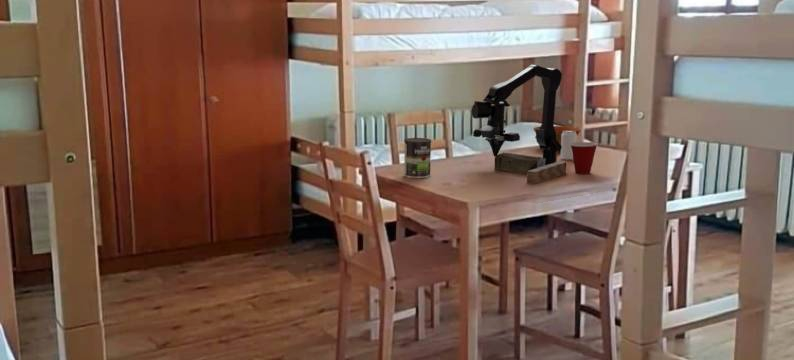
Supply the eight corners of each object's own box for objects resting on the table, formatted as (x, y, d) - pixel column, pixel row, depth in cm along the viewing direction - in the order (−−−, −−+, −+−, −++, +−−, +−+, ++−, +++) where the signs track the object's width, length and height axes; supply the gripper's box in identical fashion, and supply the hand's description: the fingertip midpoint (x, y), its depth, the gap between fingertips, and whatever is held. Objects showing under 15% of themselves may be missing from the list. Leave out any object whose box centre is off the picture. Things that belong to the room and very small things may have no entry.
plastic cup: (578, 168, 330) (579, 139, 327) (601, 172, 322) (603, 142, 319) (562, 172, 322) (564, 142, 320) (586, 176, 315) (588, 146, 312)
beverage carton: (537, 176, 316) (537, 159, 315) (493, 170, 327) (493, 154, 326) (545, 172, 323) (546, 156, 321) (502, 167, 333) (502, 151, 332)
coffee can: (435, 177, 313) (436, 140, 310) (411, 179, 308) (412, 142, 305) (422, 172, 322) (422, 136, 319) (399, 174, 317) (399, 138, 314)
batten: (559, 172, 323) (559, 161, 322) (565, 173, 321) (566, 162, 320) (526, 183, 303) (527, 171, 302) (533, 184, 301) (534, 172, 300)
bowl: (537, 144, 388) (538, 123, 386) (583, 147, 380) (584, 126, 378) (528, 151, 369) (529, 129, 366) (575, 154, 361) (576, 132, 359)
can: (577, 158, 352) (579, 130, 350) (572, 160, 347) (573, 132, 344) (563, 156, 356) (565, 129, 353) (558, 159, 350) (559, 131, 348)
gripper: (466, 117, 324) (464, 155, 327) (506, 122, 313) (504, 162, 316) (481, 114, 333) (479, 152, 336) (521, 119, 321) (519, 158, 325)
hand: (495, 156), depth 328 cm, fingers closed
